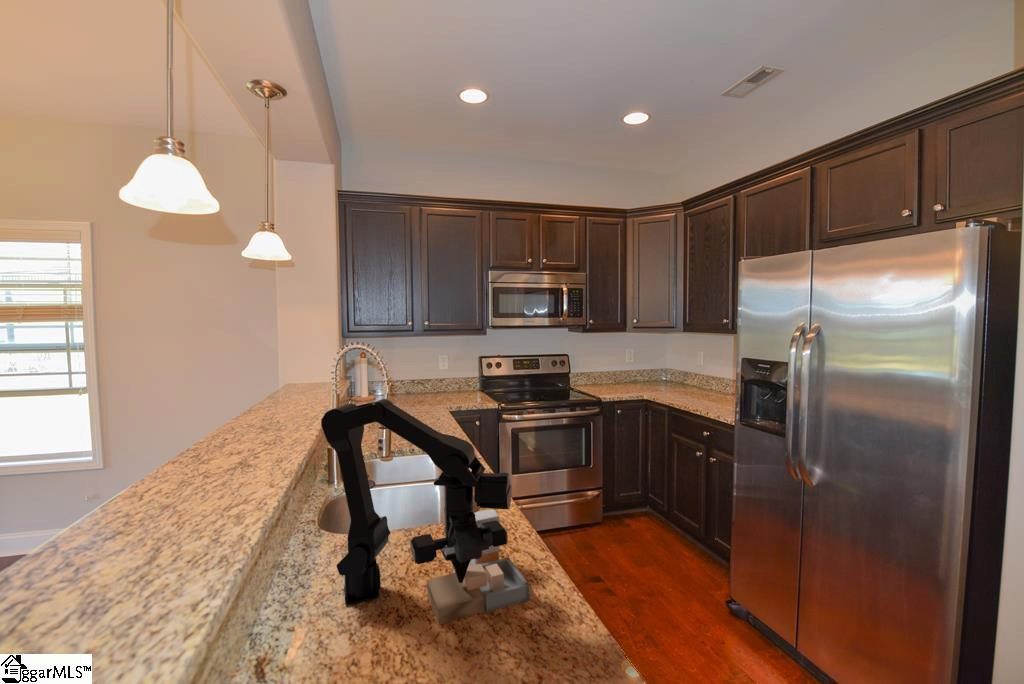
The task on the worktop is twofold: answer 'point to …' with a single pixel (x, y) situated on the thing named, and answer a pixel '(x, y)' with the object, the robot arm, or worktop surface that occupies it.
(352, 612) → the worktop surface
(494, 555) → the skincare box
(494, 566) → the tile
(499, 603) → the tray
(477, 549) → the robot arm
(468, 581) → the tile
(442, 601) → the board
